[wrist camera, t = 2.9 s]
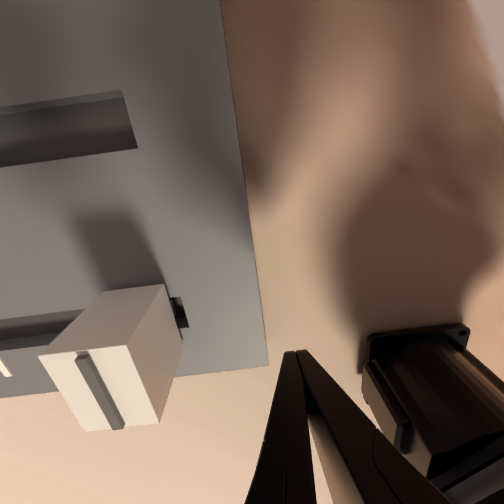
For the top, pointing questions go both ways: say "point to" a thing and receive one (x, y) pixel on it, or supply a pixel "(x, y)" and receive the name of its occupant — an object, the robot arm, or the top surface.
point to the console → (121, 179)
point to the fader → (117, 358)
